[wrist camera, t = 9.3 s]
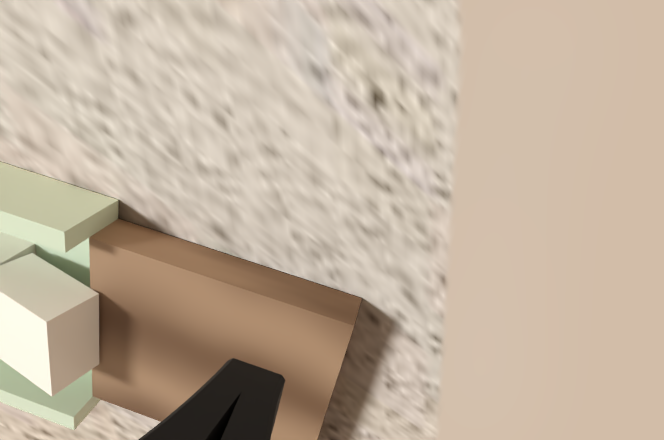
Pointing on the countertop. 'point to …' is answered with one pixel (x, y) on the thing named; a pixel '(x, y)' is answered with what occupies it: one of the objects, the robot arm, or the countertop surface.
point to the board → (210, 326)
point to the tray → (63, 253)
